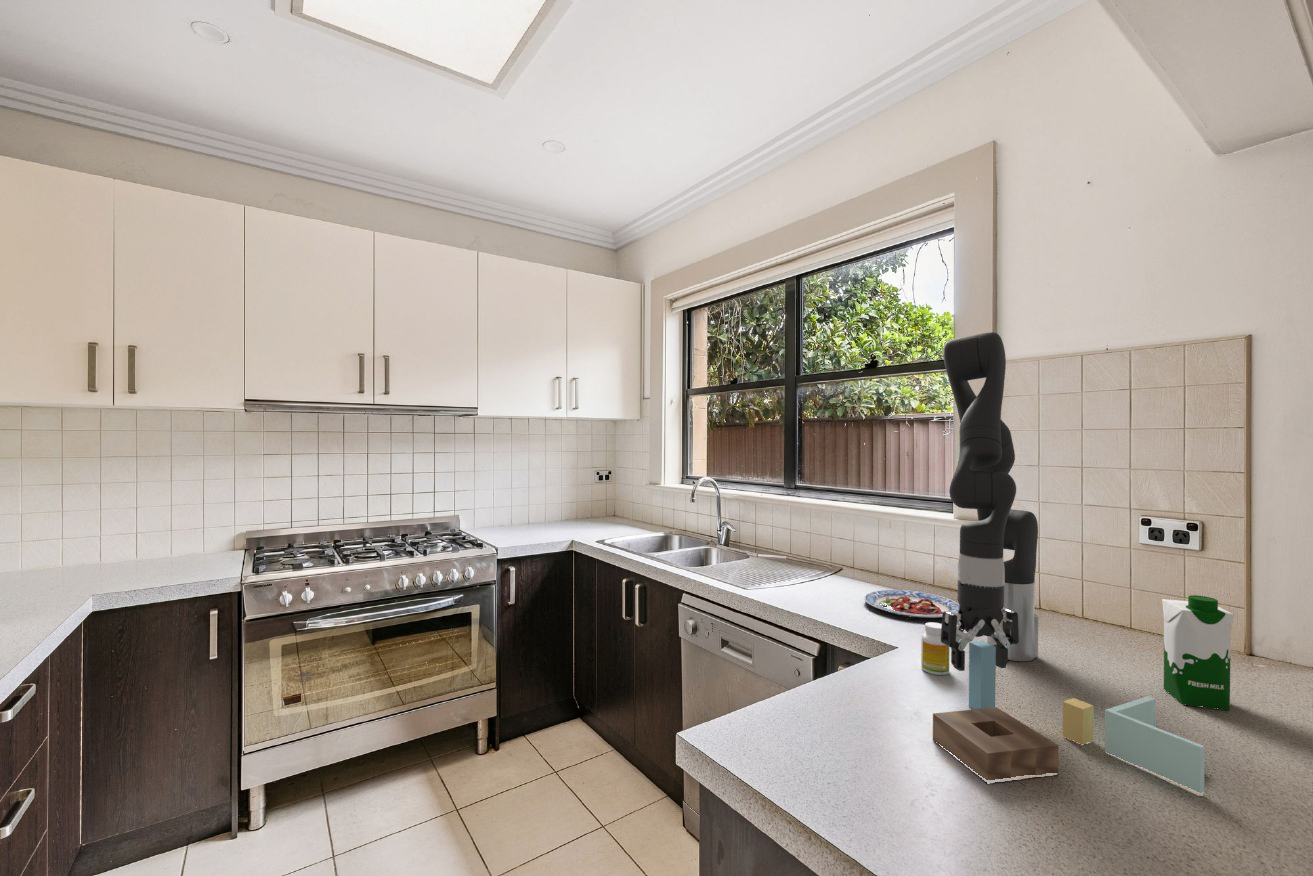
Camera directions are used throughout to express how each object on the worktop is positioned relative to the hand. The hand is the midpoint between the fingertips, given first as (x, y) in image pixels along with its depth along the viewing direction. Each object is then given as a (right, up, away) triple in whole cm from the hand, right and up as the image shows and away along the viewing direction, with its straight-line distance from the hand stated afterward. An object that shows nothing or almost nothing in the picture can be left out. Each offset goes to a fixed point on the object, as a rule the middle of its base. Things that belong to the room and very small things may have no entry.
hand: (979, 667), depth 105 cm
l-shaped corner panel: (+20, -9, -17) cm, 28 cm away
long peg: (+1, -8, 0) cm, 8 cm away
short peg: (+11, -8, -10) cm, 17 cm away
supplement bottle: (0, -8, +17) cm, 19 cm away
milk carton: (+43, -8, +4) cm, 44 cm away
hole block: (-7, -8, -16) cm, 19 cm away
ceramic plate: (+15, -8, +61) cm, 63 cm away
